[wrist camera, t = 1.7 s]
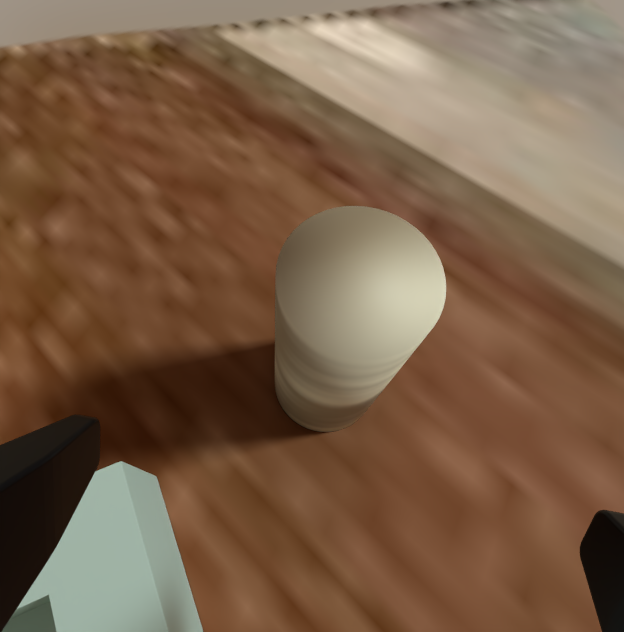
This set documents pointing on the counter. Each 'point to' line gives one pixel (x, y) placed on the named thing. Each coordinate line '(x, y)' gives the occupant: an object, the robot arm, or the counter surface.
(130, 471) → the socket block
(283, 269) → the beech peg
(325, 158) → the counter surface
